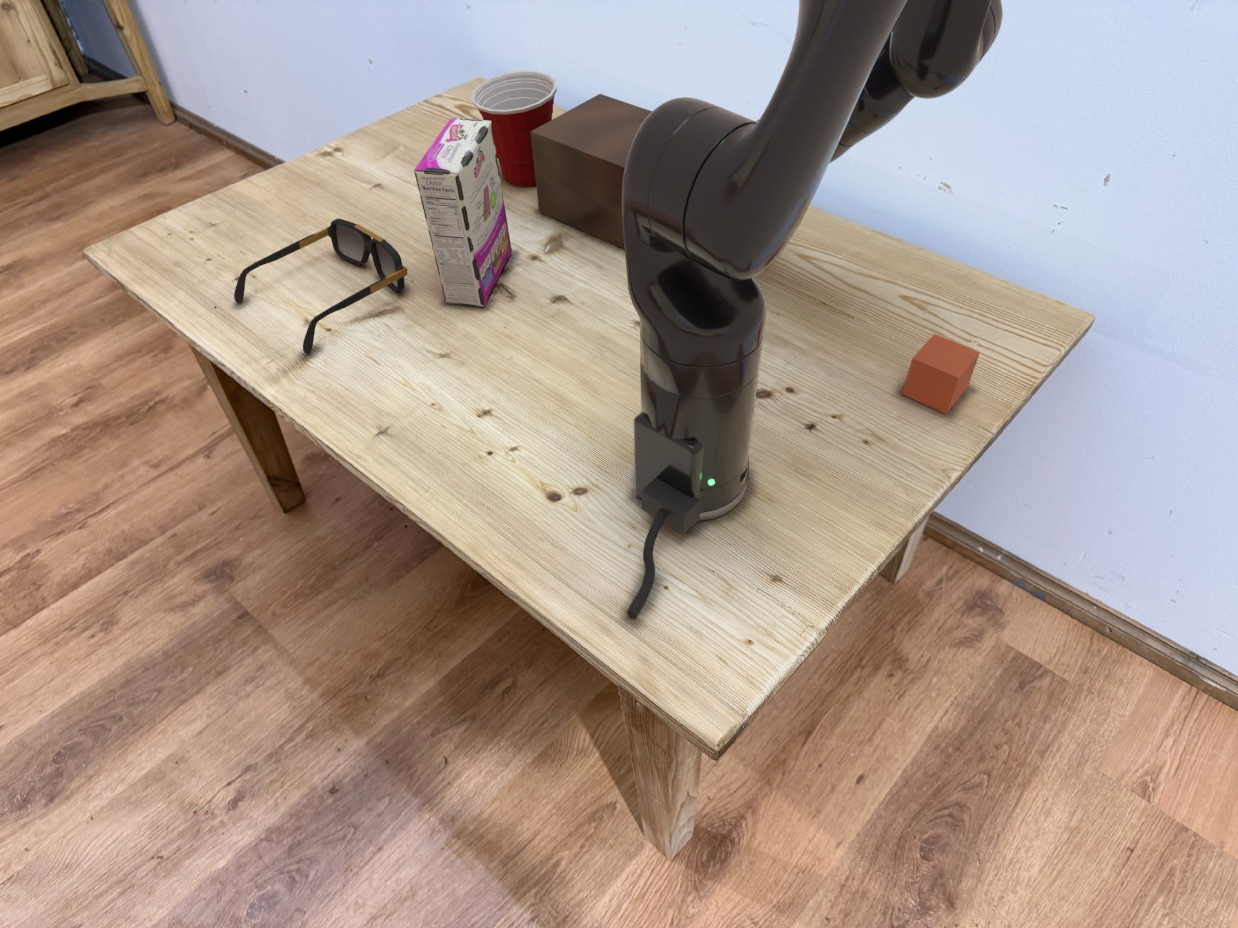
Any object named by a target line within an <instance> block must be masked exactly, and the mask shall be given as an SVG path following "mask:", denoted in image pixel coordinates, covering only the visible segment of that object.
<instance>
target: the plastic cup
mask: <svg viewBox="0 0 1238 928" xmlns="http://www.w3.org/2000/svg"><path fill="white" fill-rule="evenodd" d="M557 90H558V85H557V79H555V78H554V77H552V75H550V74H549V73H545V72H542V71H538V70H517V71H511V72H504V73H502V74H499V75H496V76H492V77H490V78H488V79H486V80H485V81H483V82H481V83H479V84H478V85H477V86H476V87H475V88H474V90H473V91H472V92H471V103H472V105H474V106H475V107H476V108H477V110H478V112H479V114H480V116H481V118H482V120H487V121H491V123H492V131H493V137H494V143H495V149H496V156H497V162H498V165H499V167H500V170H501V174H502V176H503V177H504V181H505V182H506V183H507V184H508V185H510V186H513V187H518V188H530V187H535V186H536V178H535V169H534V160H533V151H532V142H531V131H532V130H534V129H536V128H538V127H540V126H542V125H543V124H545V123H547V122H549V121H551V120H553V113H554V104H555V95H556V93H557V92H558V91H557Z"/></svg>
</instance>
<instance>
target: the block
mask: <svg viewBox="0 0 1238 928" xmlns="http://www.w3.org/2000/svg"><path fill="white" fill-rule="evenodd" d="M980 354H981V353H980V351H978V350H975V349H973V348H970V347H968V346H966V345H963V344H960V343H958V342H956V341H954V340H951V339H948V338H946V337H943V336H942V335H938V334H936V333H933V334H932V336H931V337H930V338H929V339H928V340H927V341H926V342H925V343H924V344H923V346H922V347H921V348H920V349H919V350H918V351H917V352H916V354H915V355H913V356H912V358H911V362H910V364H909V368H908V372H907V375H906V379H905V382H904V385H903V389H902V393H901V394H902V395H903V396H905V397H907V398H909V399H911V400H914V401H915V402H919V403H921V404H923V405H925V406H927V407H928V408H929V407H930V408H932V409H934V410H936V411H938V412H940V413H943V414H945V415H946V414H948V412H949V411H950V410H951V409H952V408H953V407H954V405H955V404H956V403H957V402H958V400H959V399H960V398H961V397H962V395H963V394H964V393H965V392H966V390H968V386H969V384H970V381H971V378H972V377H973V376H972V375H973V374H974V370H975V367H976V365H977V362H978V359H979V357H980Z"/></svg>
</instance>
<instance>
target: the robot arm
mask: <svg viewBox="0 0 1238 928" xmlns="http://www.w3.org/2000/svg"><path fill="white" fill-rule="evenodd" d="M1003 15H1004V13H1003V3H1002V0H798V12H797V23H796V29H795V35H794V39H793V43H792V47H791V50H790V53H789V55H788V58H787V61H786V63H785V67H784V69H783V71H782V74H781V75H780V78H779V80H778V83H777V85H776V87H775V89H774V91H773V93H772V95H771V98H770V100H769V101H768V103H767V105H766V107H765V109H764V110H763V113H762V114H761V116H760V117H759V118H758V119H757V120H753V119H752V118H748V117H746V116H744V115H741V114H739V113H736V112H733V111H732V110H730V109H729V110H728V109H726V108H724V107H722V106H719V105H716V104H714V103H711V102H709V101H706V100H703V99H699V98H695V97H688V96H685V97H684V96H683V97H676V98H672V99H670V100H667V101H664V102H663V103H661V104H660V105H658V106H657V107H656V108H654V109H653V110H651V111H652V112H651V113H650V114H649V115H648V117H647V118H646V119H645V120H644V122H643V123H642V124H641V126H640V128H639V129H638V131H637V133H636V135H635V137H634V139H633V141H632V143H631V146H630V149H629V152H628V155H627V159H626V163H625V167H624V173H623V182H622V223H623V235H624V246H625V250H624V256H625V268H626V279H627V289H628V295H629V298H630V302H631V304H632V306H633V308H634V309H635V310H634V311H635V312H636V313H637V315H638V318H639V360H640V361H639V370H640V371H639V374H640V378H639V379H640V413H639V414H637V415H636V416H635V417H634V418H633V439H634V440H633V444H634V445H633V446H634V447H633V448H634V449H633V450H634V451H633V452H634V489H635V490H634V491H635V492H634V493H635V496H636V497H638V498H639V499H640V500H641V510H642V511H643V512H646V513H647V514H649V515H651V516H652V517H654V519H653V521H652V523H651V525H650V527H649V528H648V529H649V530H648V532H647V534H646V537H645V541H644V544H643V549H642V558H643V565H644V575H643V580H642V583H641V586H640V588H639V590H638V592H637V593H636V595H635V597H634V599H633V600H632V601H631V604H630V605H629V607H628V609H627V611H626V614H627V616H628V617H630V618H636V617H637V616H638V614H639V611H640V610H641V609H642V606H643V605H644V603H645V602H646V600H647V598H648V596H649V594H650V592H651V589H652V588H653V583H654V580H655V573H656V567H655V561H654V548H655V544H656V540H657V537H658V535H659V532H660V530H661V528H662V527H663V524H666V525H667V526H668V527H670V528H671V529H673V530H674V531H677V532H679V533H680V534H682V535H684V534H685V533H686V532H687V531H688V530H689V529H690V528H693V527H694V526H695V525H696V524H697V523H698V522H700V521H707V520H712V519H715V518H718V517H721V516H723V515H725V514H727V513H729V512H730V511H732V510H733V509H734V508H735V507H737V506H738V505H739V503H740V502H741V501H742V500H743V498H744V495H745V493H746V490H747V488H748V484H749V483H748V478H749V475H750V474H749V471H750V449H751V441H752V433H753V432H752V431H753V422H754V414H755V407H756V398H757V389H758V381H759V375H760V374H759V373H760V365H761V358H762V349H763V340H764V333H765V326H766V319H767V303H766V298H765V295H764V291H763V290H762V289H761V287H760V285H759V283H758V282H757V280H756V279H755V278H756V277H758V276H759V275H761V274H762V273H764V272H765V271H767V269H768V268H769V267H771V265H772V264H774V263H775V261H776V260H777V259H779V257H780V255H781V254H782V253H783V252H784V250H785V248H786V247H787V246H788V244H789V243H790V241H791V240H792V239H793V237H794V235H795V233H796V232H797V230H798V229H799V227H800V225H801V223H802V221H803V220H804V218H805V215H806V214H807V211H808V210H809V208H810V205H811V203H812V201H813V199H814V197H815V195H816V193H817V191H818V189H819V186H820V184H821V182H822V180H823V177H824V175H825V173H826V171H827V169H828V166H829V165H830V164H832V162H835V161H837V160H838V159H839V158H840V157H842V156H843V155H844V154H846V153H847V152H848V151H849V150H850V149H851V148H852V147H854V146H855V145H857V144H858V143H860V142H861V141H863V140H865V139H867V138H869V137H870V136H872V135H873V134H874V133H876V132H878V131H879V130H881V129H882V128H884V127H885V126H886V125H888V124H889V123H890V122H892V121H893V120H894V119H895V118H896V117H897V116H898V115H900V113H901V112H902V111H903V110H904V109H905V108H906V107H907V105H908V104H910V102H912V101H913V99H915V98H919V99H925V100H929V99H930V100H931V99H937V98H940V97H944V96H946V95H948V94H950V93H952V92H953V91H955V90H956V89H958V88H959V87H960V86H962V85H963V84H964V83H965V81H967V79H969V77H970V76H971V75H972V73H973V72H974V71H975V69H976V68H977V66H978V65H979V64H980V63H981V61H982V60H983V59H984V58H985V56H986V55H987V54H988V52H989V51H990V49H991V48H992V46H993V45H994V44H995V42H996V40H997V38H998V36H999V33H1000V31H1001V28H1002V24H1003V17H1004V16H1003Z"/></svg>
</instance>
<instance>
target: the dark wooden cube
mask: <svg viewBox="0 0 1238 928" xmlns="http://www.w3.org/2000/svg"><path fill="white" fill-rule="evenodd" d="M652 111H653V110H649V109H646V108H643V107H640V106H637V105H635V104H632V103H628V102H626V101H623V100H620V99H617V98H614V97H611V96H608V95H605V94H603V93H599V94H596V95H594V96H593V97H591V98H590V99H588V100H585V101H584V102H582V103H580V104H578V105H577V106H575V107H573V108H570V109H569V110H567V111H565V112H564V113H561V114H560V115H558V116H556V117H554V118H552V120H551V121H549V122H547V123H545V124H543V125H542V126H540V127H538V128H536V129H534V130H532V131H531V142H532V151H533V160H534V169H535V178H536V185H535V186H536V195H537V197H536V198H537V204H538V212H539V213H540V214H543V215H545V216H547V217H549V218H552V219H554V220H556V221H559V222H561V223H563V224H565V225H567V226H569V227H572V228H575V229H577V230H579V231H581V232H583V233H585V234H588V235H590V236H592V237H595V238H597V239H600V240H602V241H604V242H606V243H608V244H611V245H613V246H615V247H618V248H619V249H622V250H624V251H625V246H624V235H623V223H622V182H623V173H624V167H625V163H626V159H627V155H628V152H629V149H630V146H631V143H632V141H633V139H634V137H635V135H636V133H637V131H638V129H639V128H640V126H641V124H642V123H643V122H644V120H645V119H646V118H647V117H648V115H649V114H650V113H651V112H652Z"/></svg>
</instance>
